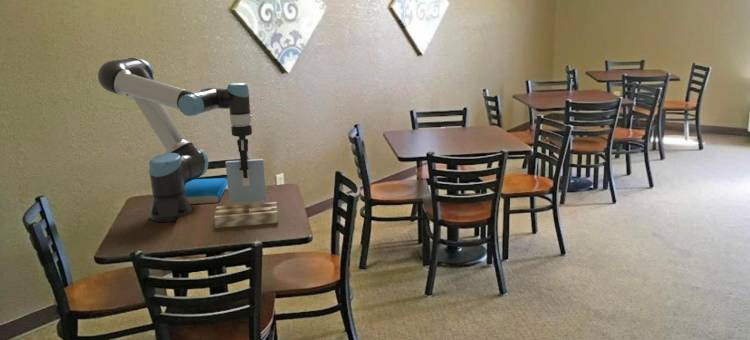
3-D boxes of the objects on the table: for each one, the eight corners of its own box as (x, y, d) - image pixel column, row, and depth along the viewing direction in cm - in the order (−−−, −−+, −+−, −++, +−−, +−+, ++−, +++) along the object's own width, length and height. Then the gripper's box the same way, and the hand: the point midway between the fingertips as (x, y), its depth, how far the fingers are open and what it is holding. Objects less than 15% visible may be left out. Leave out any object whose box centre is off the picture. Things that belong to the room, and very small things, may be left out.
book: (176, 196, 243) (188, 178, 267) (177, 206, 245) (189, 188, 269) (219, 194, 245) (227, 176, 269) (220, 204, 246) (228, 186, 270)
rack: (215, 231, 213) (214, 217, 212) (217, 220, 225) (216, 206, 223) (278, 226, 217) (277, 212, 216) (277, 215, 228) (276, 201, 227)
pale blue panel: (229, 202, 232) (225, 162, 228) (229, 201, 234) (225, 161, 230) (266, 199, 234) (263, 159, 230) (266, 198, 236) (263, 158, 232)
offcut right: (249, 222, 217) (248, 211, 216) (250, 220, 219) (249, 208, 218) (272, 221, 218) (271, 209, 217) (272, 218, 221) (271, 207, 220)
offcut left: (218, 225, 215) (217, 212, 214) (219, 223, 217) (217, 210, 216) (244, 223, 217) (243, 210, 215) (244, 221, 219) (243, 208, 218)
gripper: (251, 127, 220) (256, 189, 226) (251, 120, 234) (256, 178, 240) (230, 129, 218) (235, 191, 225) (231, 121, 233) (237, 180, 239)
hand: (246, 184), depth 232 cm, fingers closed on pale blue panel, 2 cm apart
